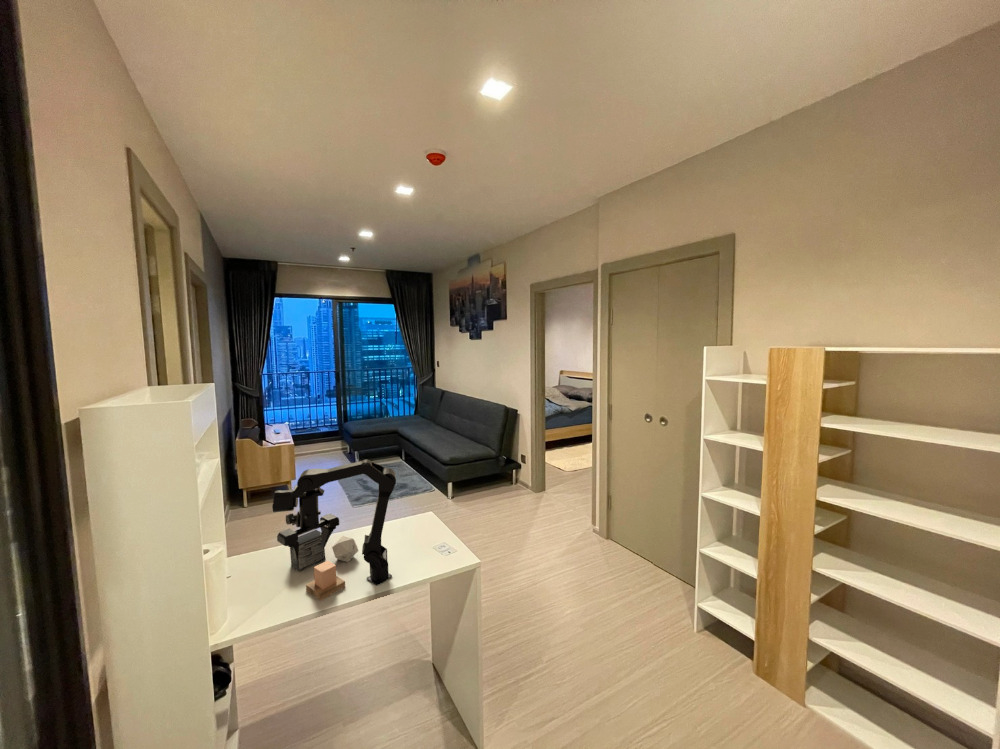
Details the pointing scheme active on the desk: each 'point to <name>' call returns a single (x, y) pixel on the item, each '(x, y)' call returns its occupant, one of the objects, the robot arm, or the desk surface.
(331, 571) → the terracotta cube
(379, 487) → the robot arm
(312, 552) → the small box
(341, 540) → the die
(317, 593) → the walnut slab
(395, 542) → the desk surface
